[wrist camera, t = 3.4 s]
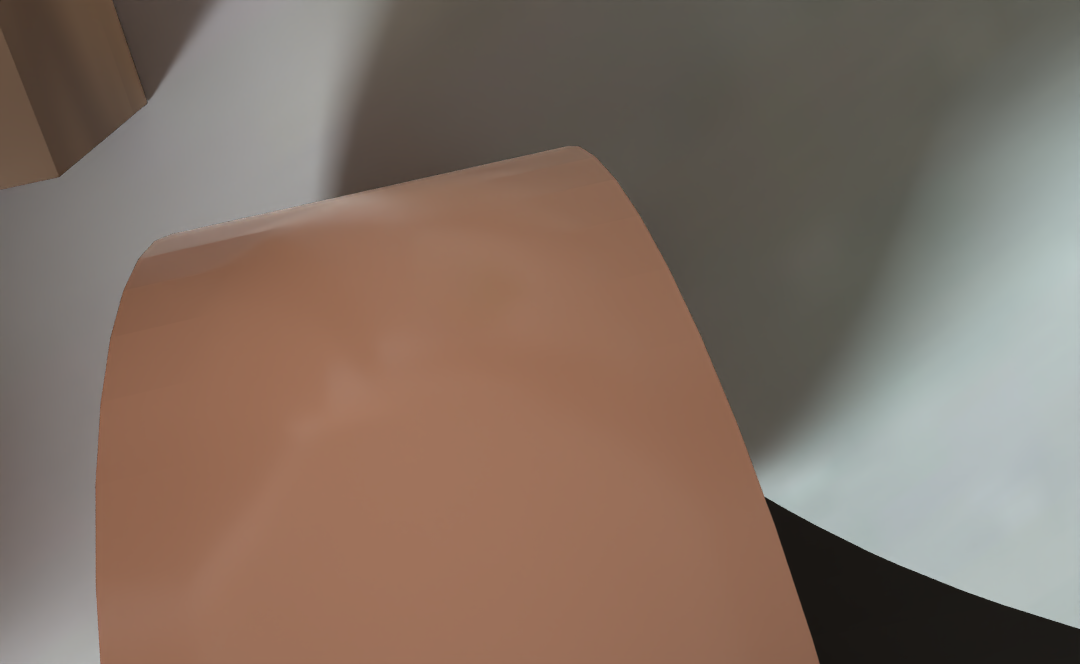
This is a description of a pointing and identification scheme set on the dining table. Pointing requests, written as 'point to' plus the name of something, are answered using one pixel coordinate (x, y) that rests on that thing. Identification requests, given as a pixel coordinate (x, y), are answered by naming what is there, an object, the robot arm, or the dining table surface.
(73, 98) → the rack
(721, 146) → the dining table surface
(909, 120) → the dining table surface
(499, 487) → the peach cylinder disc
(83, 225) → the dining table surface
